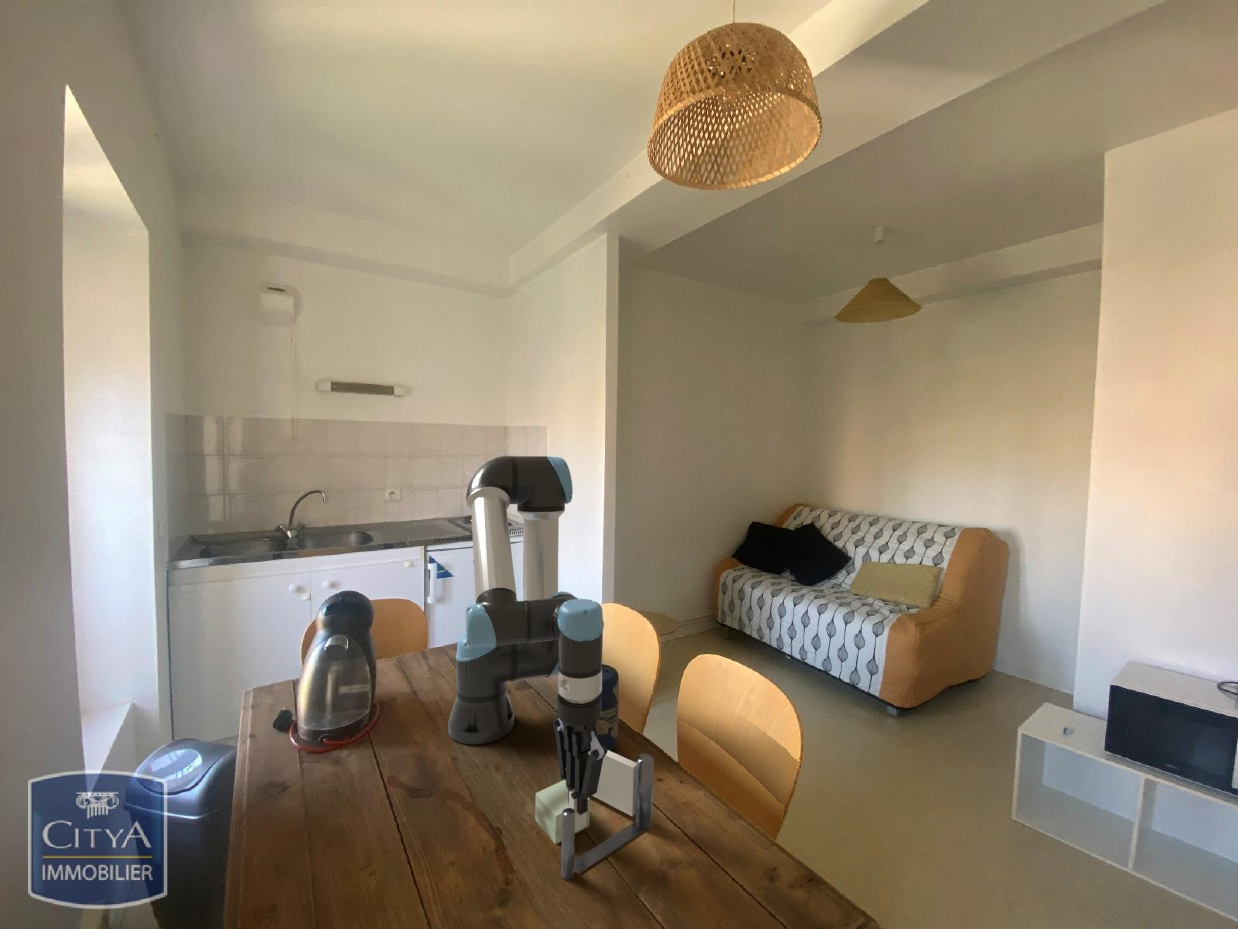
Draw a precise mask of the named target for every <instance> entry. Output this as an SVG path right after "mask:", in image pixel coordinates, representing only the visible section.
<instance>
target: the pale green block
mask: <svg viewBox="0 0 1238 929" xmlns="http://www.w3.org/2000/svg"><path fill="white" fill-rule="evenodd" d="M590 801H591V798H590V797H588V810H587V812H586V826H585V827H583V828H581V829H580V830H578V831H576V832H575V834H577V833H579V832H581V831H583V830H584V829H586V828H588V827H589V826H590V814H591V813H590V808H591V807H590V806H591V805H590V804H591V802H590ZM534 803H535V804H534V805H535V807H534V808H535V809H534V810H535V813H534V814H535V815H534V816H535V821H536V823H537V824H538V825H539V827H540V828H541V829H542V830H543V831H544V832H545V834H546V835H547V836H548V838H549V839H550V840H551V841H552V842H553V843H554V844H555V845H557V844H559V843H560V842H561V843H562V811H563V810H564V809H566V808H569V804H568V788H567V787H566V781H565V780H560V781H559V782H556V783H555V784H553V785H551V786H548V787H546V788H543V789H542V790H540V791H538V792H535V802H534Z"/></svg>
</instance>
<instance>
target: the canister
mask: <svg viewBox="0 0 1238 929" xmlns="http://www.w3.org/2000/svg"><path fill="white" fill-rule="evenodd" d="M619 678H620V676H619V673H618V670H617V669H616V668H614V667H613V666H611V665H609V664H605V663H604V664H603V663H602V691H601V715H600V717H599V719H598V721H597V723H596V728H597V732H598V737H597V740H598V742H599V744H600V745H601V747H602V746H604V745H605V746H606V747H607V750H609V751H611V752H612V750H614V748H615V747H616V746H617V744H618V742H619V741H618V739H619V708H620V707H619V702H620V699H619V698H620V696H619V695H620V692H619V691H620V690H619V688H620V685H619V684H620V683H619V682H620V681H619V680H620V679H619Z"/></svg>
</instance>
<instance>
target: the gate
mask: <svg viewBox="0 0 1238 929" xmlns="http://www.w3.org/2000/svg"><path fill="white" fill-rule="evenodd" d="M636 777H637V761H633V760H631V759H628V758H626V757H624V756H622V755H620V754H617V753H615V752H613V751H612V750H611V751H609V750H608V752H607V754H606V755H605V757H604V758H603V763H602V768H601V773H600V778H599V783H598V788H597V793H595V794H594V795H592V796H591V797H594V798H596V799H598V800H600V801H602V802H604V803H606V804H608V805H609V806H611V807H613V808H615V809H617V810H618V811H620V812H623V813H625V814H626V815H629V816H630V817H634V815H636Z"/></svg>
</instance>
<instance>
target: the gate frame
mask: <svg viewBox="0 0 1238 929" xmlns="http://www.w3.org/2000/svg"><path fill="white" fill-rule="evenodd" d="M654 761H655V759H654V757H653V755H651V754H648V753H640V754H639V755H638V756H637V757H636V763H637V777H636V813H635V821H633V822H632V823H631V824H629V825H627V826H626V827H624V828H623V829H621V830H619V831H618V832H616V833H615V834H614V835H612V836H610V837H608V838H607V839H606V840H604V841H603V842H601V843H599V844H598V845H596V846H595V847H593V848H591V849H589V851H586V852H585V853H584V854H582V855H580V856H579V857H577V858H576V859H575V837H576V836H575V834H576V833H575V811H574V809H572V808H566V809H564V810H563V811H562V841H561V856H560V857H561V863H560V864H561V865H560V866H561V868H560V869H561V870H560V871H561V872H560V874H561V875H560V876H561V878H562V879H563V880H566V881H568V880H571V879H573V878H574V876H575V870H576V872H577V873H578V874H579V875H580V874H582V873H583V872H585V871H586V870H588V869H590V868H591V867H593V866H595V865H596V864H597V863H599V862H600V861H602V860H603V859H605V858H606V857H608V856H609V855H611V854H612V853H614V852H616V851H617V850H618V849H620V848H622V847H623V846H625V845H626V844H628V843H629V842H631V841H632V840H633V839H635V838H636V837H638V836H639V835H641V834H642V833H644V832H646V831H649V830H651V829H652V828H653V810H654V809H653V807H654V806H653V804H654V800H653V799H654V769H655V768H654V764H655V763H654Z"/></svg>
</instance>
